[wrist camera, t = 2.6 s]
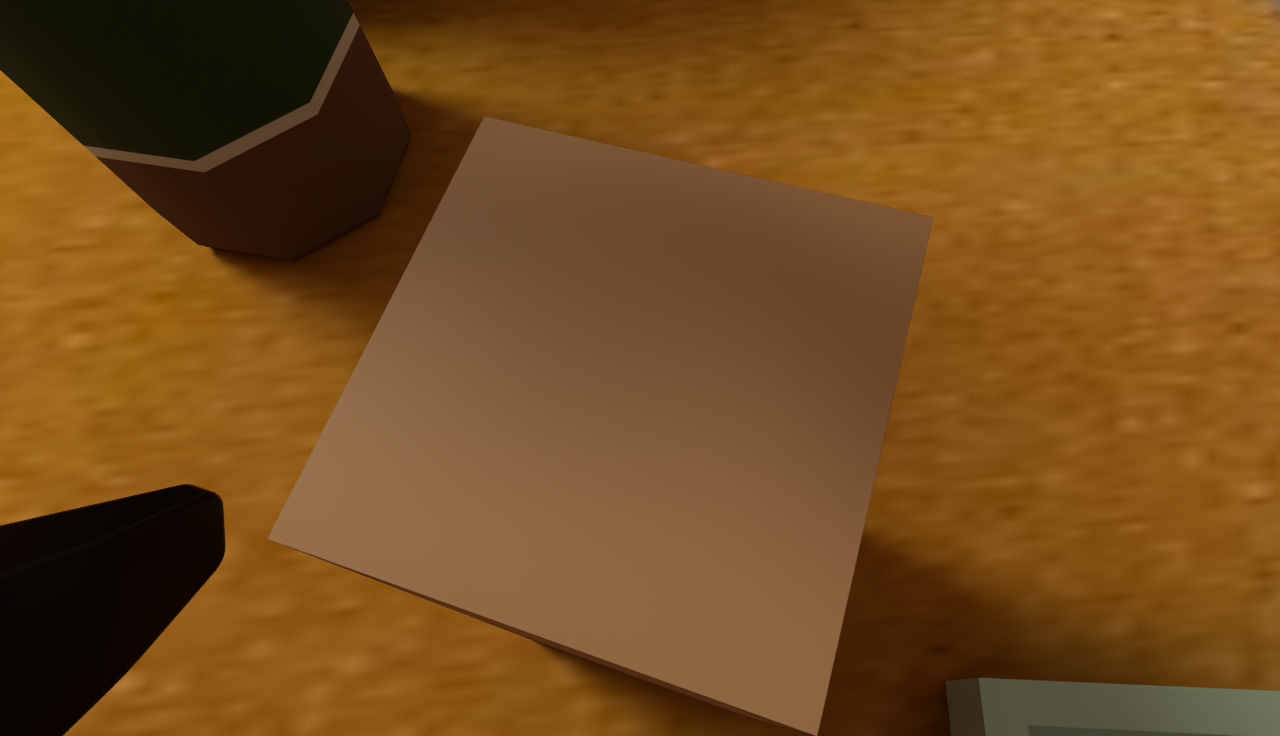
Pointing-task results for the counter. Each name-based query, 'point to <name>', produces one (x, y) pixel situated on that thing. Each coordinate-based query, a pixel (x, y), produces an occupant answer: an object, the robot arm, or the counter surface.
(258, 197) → the beer bottle
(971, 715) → the teal tray
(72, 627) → the robot arm
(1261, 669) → the counter surface
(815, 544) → the walnut block
